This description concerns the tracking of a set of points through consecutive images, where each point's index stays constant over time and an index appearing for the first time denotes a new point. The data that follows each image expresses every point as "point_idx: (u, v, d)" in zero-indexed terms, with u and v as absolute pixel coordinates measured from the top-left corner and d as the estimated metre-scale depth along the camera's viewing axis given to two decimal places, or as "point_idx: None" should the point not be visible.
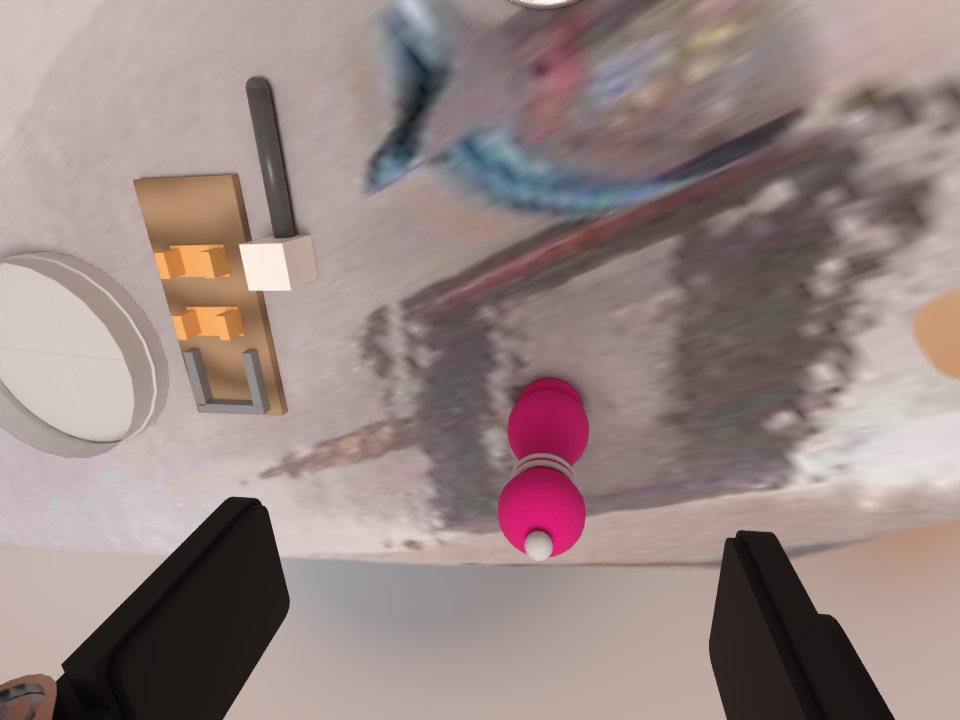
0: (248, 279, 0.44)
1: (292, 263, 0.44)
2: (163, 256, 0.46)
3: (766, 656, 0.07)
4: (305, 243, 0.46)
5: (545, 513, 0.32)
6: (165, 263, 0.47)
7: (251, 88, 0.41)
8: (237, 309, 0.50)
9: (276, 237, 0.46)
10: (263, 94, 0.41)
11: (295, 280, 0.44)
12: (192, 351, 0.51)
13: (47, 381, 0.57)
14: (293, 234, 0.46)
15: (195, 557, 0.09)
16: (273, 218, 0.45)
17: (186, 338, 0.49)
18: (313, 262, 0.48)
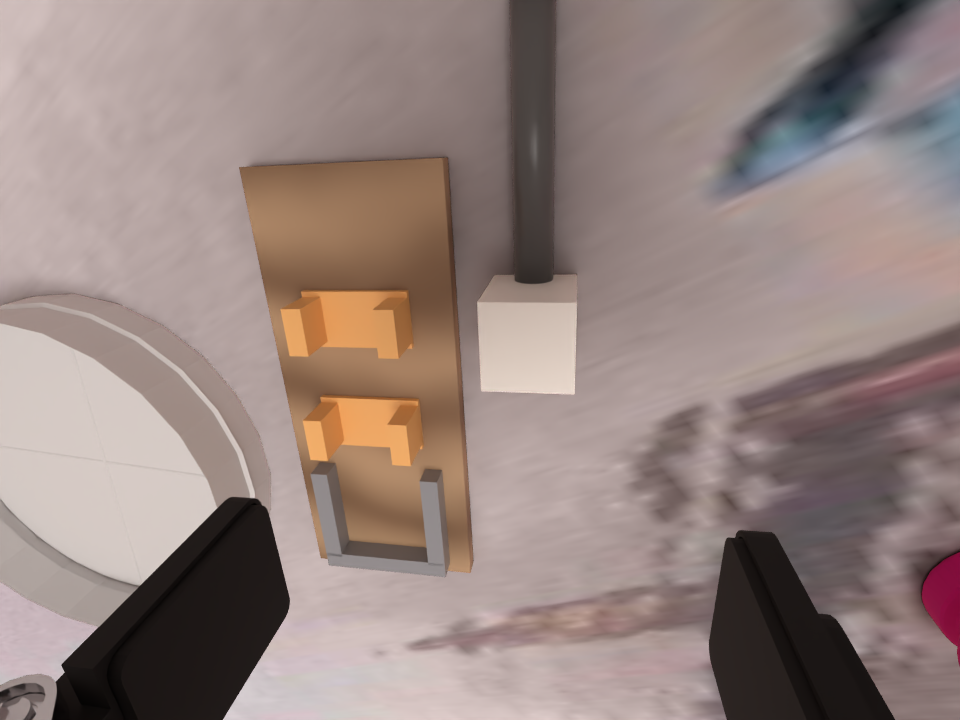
0: (484, 370, 0.22)
1: None
2: (298, 315, 0.24)
3: (766, 656, 0.07)
4: None
5: None
6: (301, 329, 0.24)
7: None
8: (417, 405, 0.27)
9: (525, 281, 0.23)
10: None
11: None
12: (327, 472, 0.29)
13: (68, 498, 0.35)
14: (552, 275, 0.24)
15: (195, 557, 0.09)
16: (525, 245, 0.23)
17: (326, 458, 0.27)
18: None
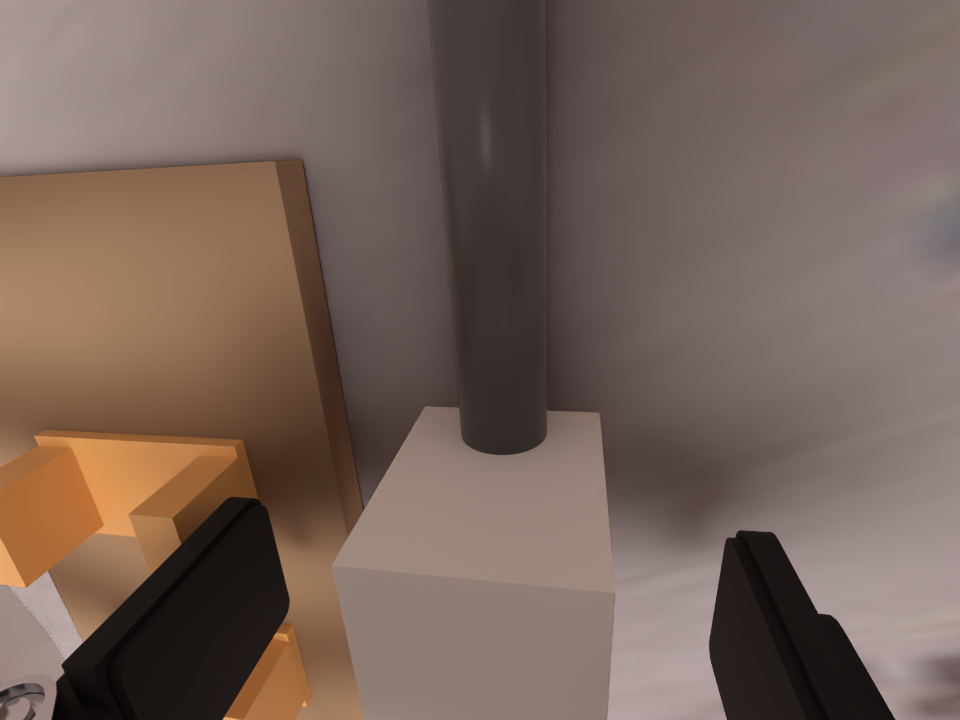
0: (372, 705, 0.08)
1: None
2: None
3: (766, 656, 0.07)
4: None
5: None
6: None
7: None
8: (288, 640, 0.14)
9: (482, 449, 0.10)
10: None
11: None
12: None
13: None
14: (546, 424, 0.10)
15: (195, 557, 0.09)
16: (477, 371, 0.09)
17: None
18: None
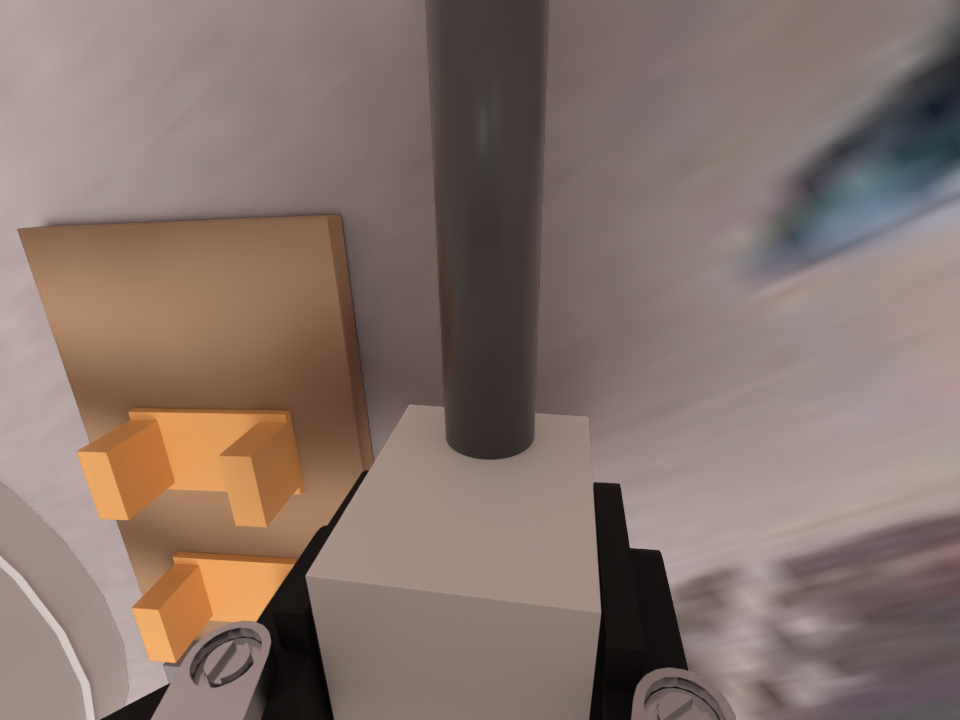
0: (344, 717, 0.08)
1: None
2: (106, 461, 0.15)
3: None
4: None
5: None
6: (111, 481, 0.15)
7: None
8: None
9: (466, 453, 0.10)
10: None
11: None
12: None
13: None
14: (534, 428, 0.10)
15: None
16: (465, 373, 0.09)
17: (173, 659, 0.18)
18: None
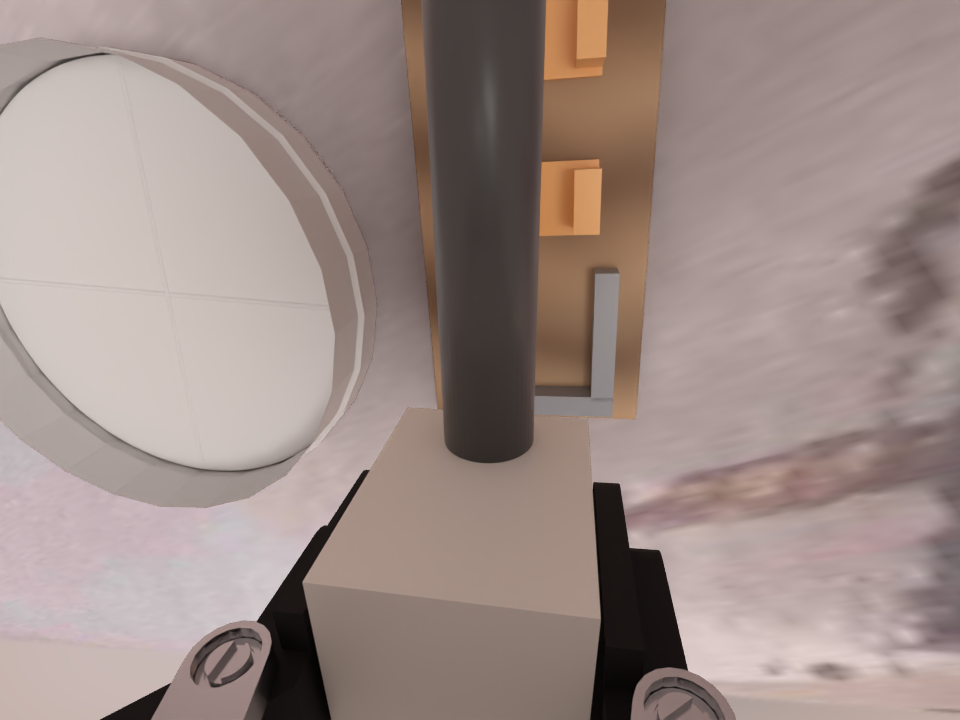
0: None
1: None
2: None
3: None
4: None
5: None
6: None
7: None
8: (598, 166, 0.21)
9: (465, 456, 0.10)
10: None
11: None
12: None
13: (118, 350, 0.28)
14: (533, 431, 0.10)
15: None
16: (462, 376, 0.09)
17: None
18: None
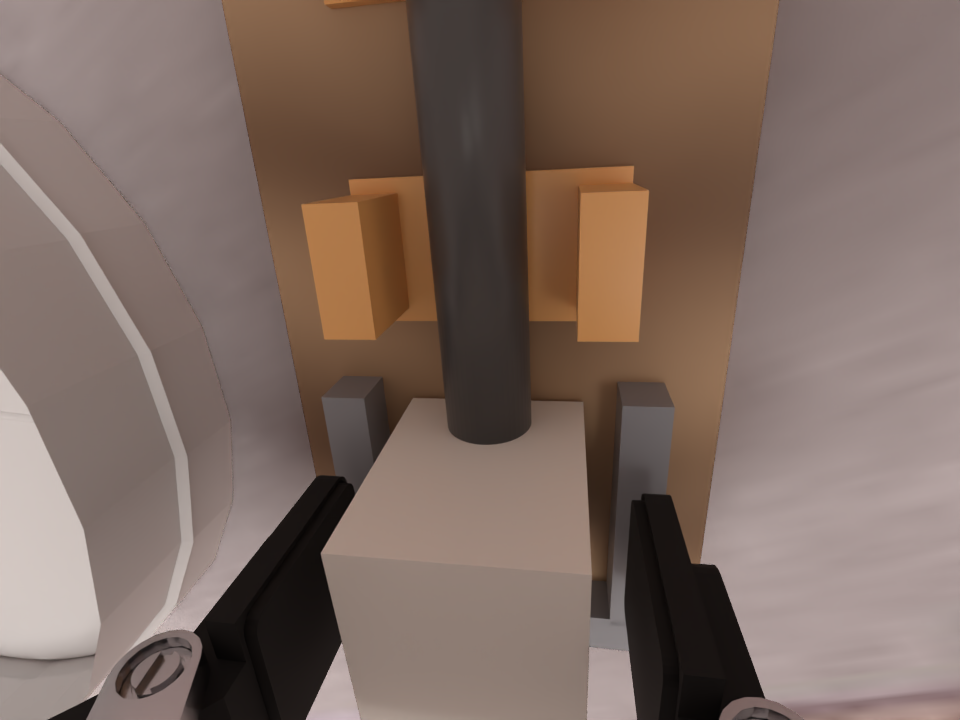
0: (363, 686, 0.09)
1: None
2: None
3: (645, 594, 0.08)
4: None
5: None
6: None
7: None
8: (631, 181, 0.09)
9: (467, 439, 0.10)
10: None
11: None
12: (364, 393, 0.11)
13: None
14: (530, 414, 0.11)
15: (301, 528, 0.09)
16: (461, 363, 0.10)
17: (371, 332, 0.09)
18: None
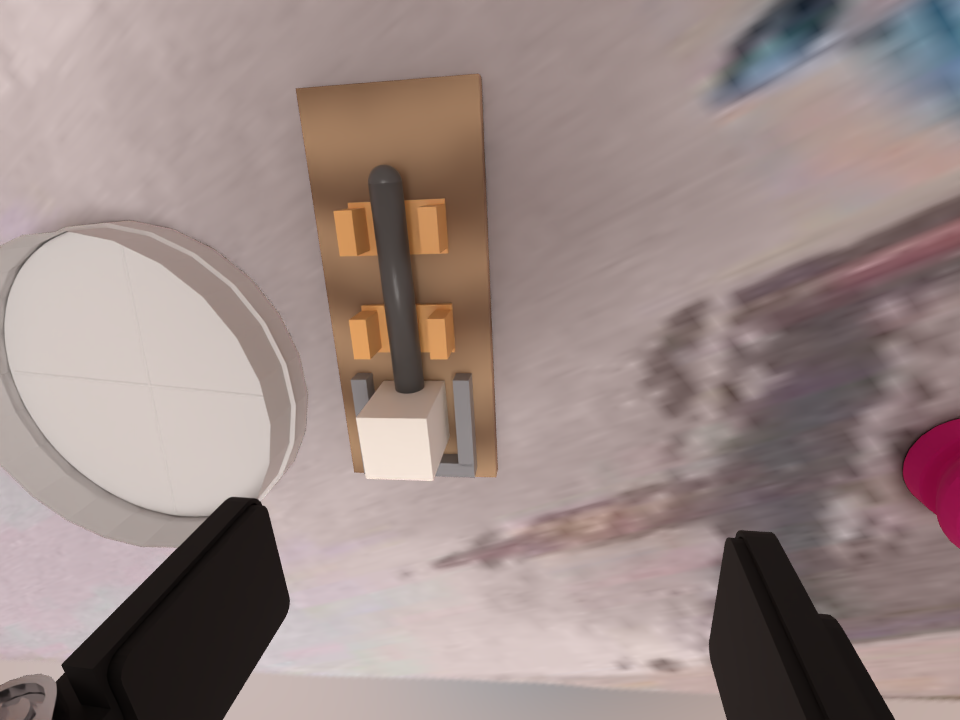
0: (366, 464, 0.29)
1: (434, 438, 0.29)
2: (350, 216, 0.27)
3: (766, 656, 0.07)
4: (441, 397, 0.31)
5: None
6: (351, 229, 0.27)
7: (379, 183, 0.26)
8: (451, 308, 0.30)
9: (400, 392, 0.31)
10: (396, 192, 0.27)
11: (436, 461, 0.30)
12: (365, 378, 0.32)
13: (110, 425, 0.37)
14: (423, 384, 0.31)
15: (195, 557, 0.09)
16: (397, 366, 0.30)
17: (369, 357, 0.30)
18: (447, 417, 0.33)
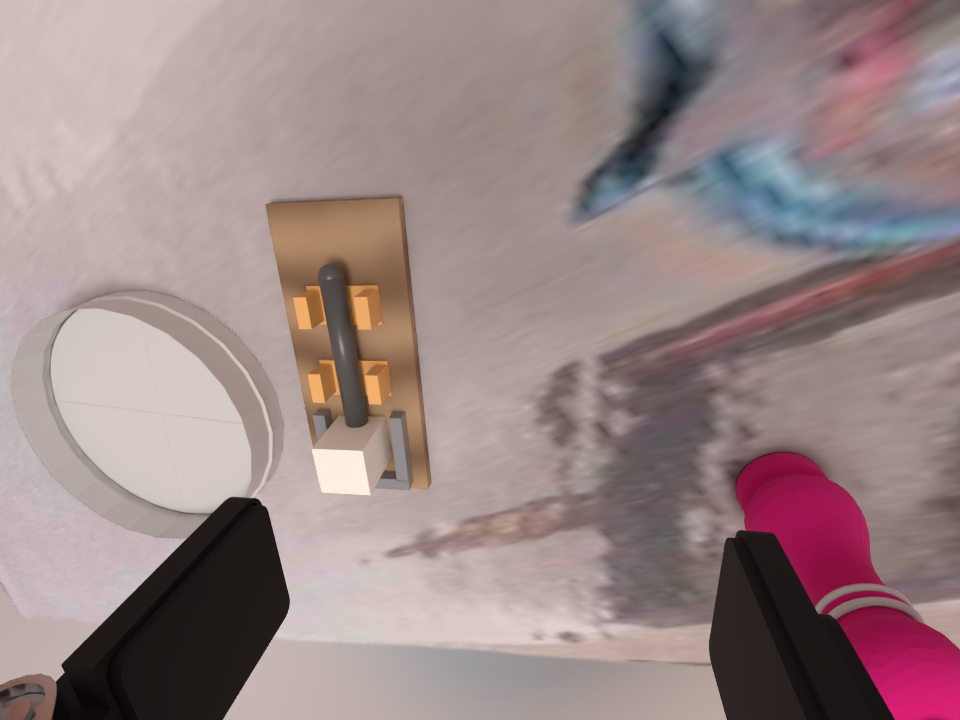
0: (321, 482, 0.39)
1: (371, 463, 0.39)
2: (305, 301, 0.36)
3: (766, 656, 0.07)
4: (381, 430, 0.41)
5: (949, 700, 0.22)
6: (306, 310, 0.37)
7: (325, 278, 0.36)
8: (386, 364, 0.40)
9: (349, 426, 0.40)
10: (338, 284, 0.36)
11: (373, 480, 0.39)
12: (324, 414, 0.41)
13: (132, 443, 0.47)
14: (367, 420, 0.41)
15: (195, 557, 0.09)
16: (345, 408, 0.40)
17: (323, 401, 0.39)
18: (388, 443, 0.42)
